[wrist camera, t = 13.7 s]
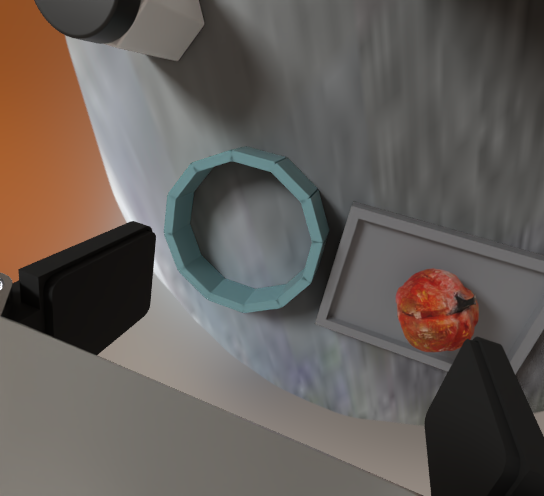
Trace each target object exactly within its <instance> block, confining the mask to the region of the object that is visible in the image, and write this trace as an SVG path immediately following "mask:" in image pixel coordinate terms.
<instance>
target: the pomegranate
mask: <svg viewBox="0 0 544 496" xmlns="http://www.w3.org/2000/svg"><path fill="white" fill-rule="evenodd" d="M396 303H397V312H398V316H397V317H398V320H399V322H400V324H401V328H402V330H403V333H404V336H405V338H406V339H407V340H408V342H409V343H410V344H411V345H412V346H413V347H415V348H417V349H419V350H421V351H424V352H441V351H454V350H456V349H458V348H460V347H461V346H462V344H463V343H464V341H465V340H466V339H469V340H471V337H472V336H473V334H474V327H475V326H476V324H477V322H478V318H479V305H478V302H477V300H476V295H475V294H473V293H472V291H471V290H469V289H467V288H465V287H464V285H463V284H462V283H461V281H460V280H459V279H458V277H457V276H456V275H455V274H453V273H450V272H448V271H445V270H441V269H434V268H432V269H426V270H423V271H420V272H418V273H415V274H414V275H412V276H411V277H410V278H409V279H408V280H407V281H406V282H405V283H404V285H403V286H401V287H399V288H398V291H397V293H396Z"/></svg>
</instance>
